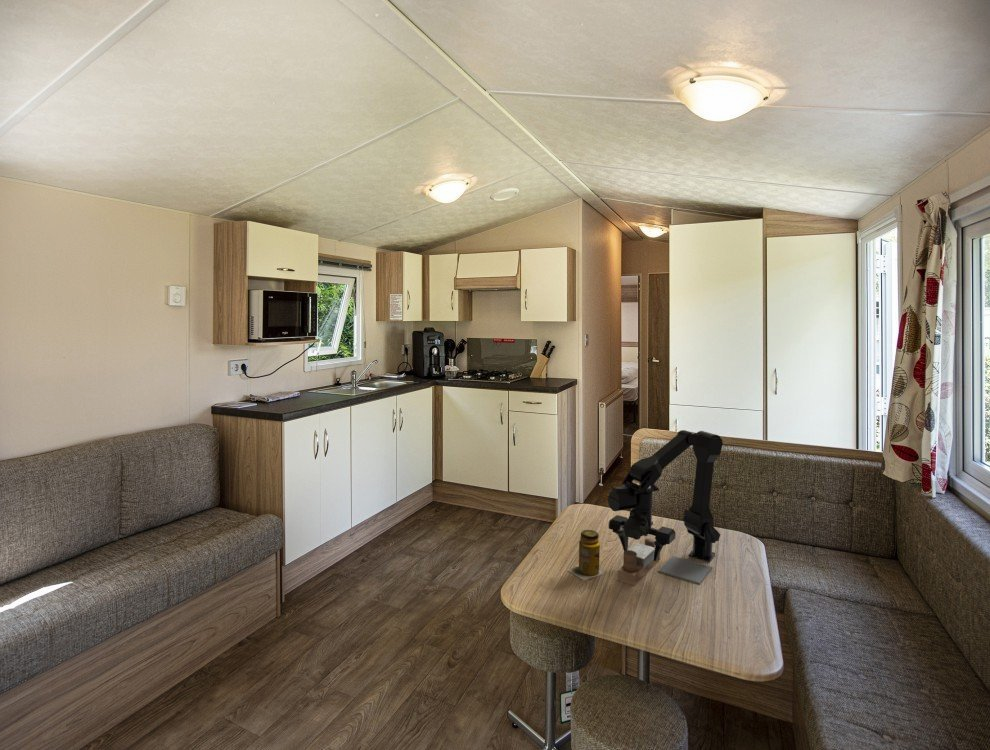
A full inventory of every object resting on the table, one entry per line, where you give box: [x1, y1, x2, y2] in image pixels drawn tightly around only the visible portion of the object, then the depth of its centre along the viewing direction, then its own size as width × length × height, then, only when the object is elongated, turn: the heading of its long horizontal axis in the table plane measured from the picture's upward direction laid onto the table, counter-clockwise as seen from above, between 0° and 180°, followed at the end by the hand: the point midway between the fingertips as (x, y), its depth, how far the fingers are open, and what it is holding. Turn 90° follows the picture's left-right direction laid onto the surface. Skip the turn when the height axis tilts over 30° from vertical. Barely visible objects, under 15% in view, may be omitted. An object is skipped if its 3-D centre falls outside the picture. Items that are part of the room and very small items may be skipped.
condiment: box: [567, 529, 606, 581], centre depth 157 cm, size 7×8×12 cm
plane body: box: [617, 537, 661, 586], centre depth 159 cm, size 20×5×8 cm, turn 142°
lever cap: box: [628, 542, 655, 569], centre depth 158 cm, size 9×6×3 cm, turn 142°
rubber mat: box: [658, 555, 713, 585], centre depth 159 cm, size 12×12×1 cm
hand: (640, 556), depth 159 cm, fingers open, 9 cm apart
